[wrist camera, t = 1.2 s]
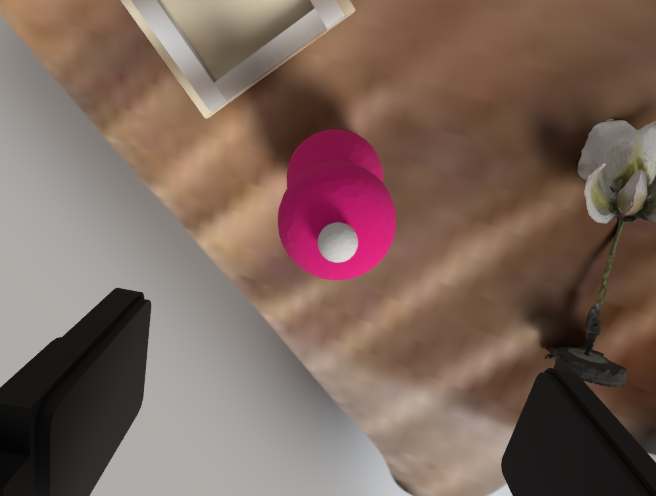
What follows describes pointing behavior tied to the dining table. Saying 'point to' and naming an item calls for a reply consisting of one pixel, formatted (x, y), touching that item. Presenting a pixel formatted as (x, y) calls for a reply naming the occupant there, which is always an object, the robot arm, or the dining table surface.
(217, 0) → the rail board
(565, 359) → the artificial flower
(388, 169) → the dining table surface
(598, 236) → the dining table surface
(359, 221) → the pepper mill
